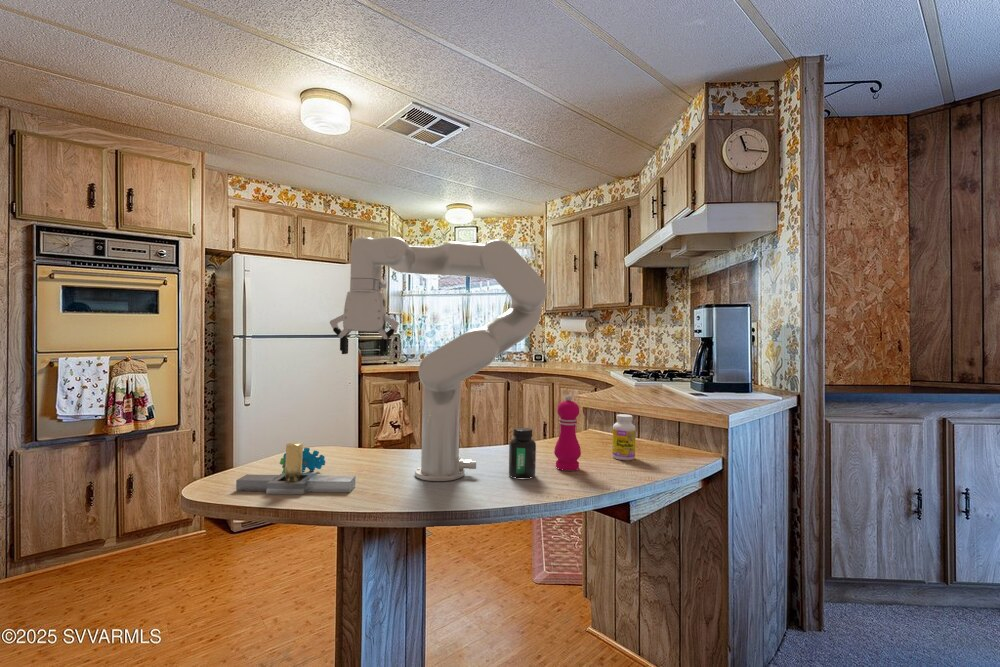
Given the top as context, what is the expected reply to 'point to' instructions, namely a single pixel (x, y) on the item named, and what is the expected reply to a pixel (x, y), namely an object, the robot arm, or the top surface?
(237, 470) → the top surface
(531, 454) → the supplement bottle
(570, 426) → the pepper mill
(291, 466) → the gold square peg
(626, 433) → the supplement bottle
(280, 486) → the grey base plate
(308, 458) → the gear
